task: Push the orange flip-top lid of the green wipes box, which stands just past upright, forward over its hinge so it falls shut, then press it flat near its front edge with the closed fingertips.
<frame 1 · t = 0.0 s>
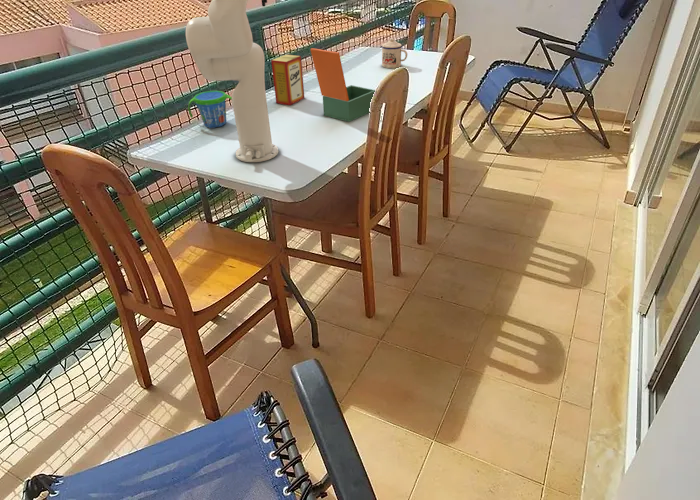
hand: (247, 6, 146), 37 cm above the table, tool pointing down, fingers open, 9 cm apart
baking soda box: (290, 101, 189), on the table
snack cup: (215, 125, 170), on the table
teacup with lid: (394, 66, 226), on the table
lid: (329, 75, 161), point 15 cm above the table, hinge at 104.0°
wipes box: (350, 112, 176), on the table
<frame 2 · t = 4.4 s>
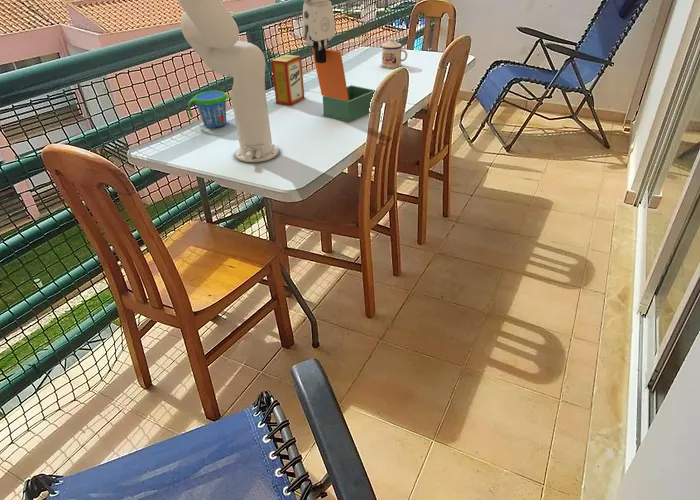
hand: (320, 62, 156), 20 cm above the table, tool pointing down, fingers closed
lid: (330, 74, 161), point 15 cm above the table, hinge at 101.1°
everything else where it was.
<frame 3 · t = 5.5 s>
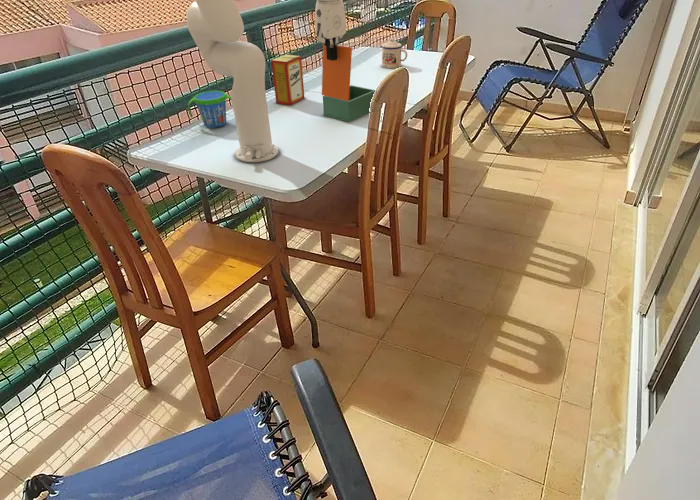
hand: (332, 59, 159), 20 cm above the table, tool pointing down, fingers closed
lid: (336, 72, 163), point 15 cm above the table, hinge at 81.6°, touching gripper
everything else where it was.
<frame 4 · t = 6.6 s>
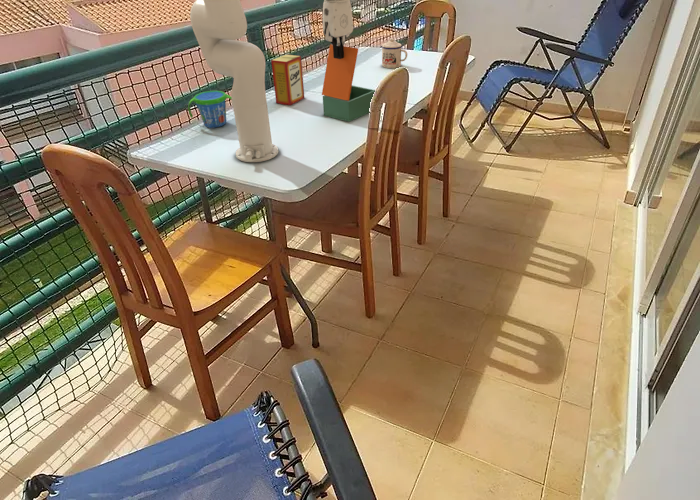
hand: (338, 57, 161), 20 cm above the table, tool pointing down, fingers closed
lid: (339, 72, 164), point 15 cm above the table, hinge at 69.8°
everything else where it was.
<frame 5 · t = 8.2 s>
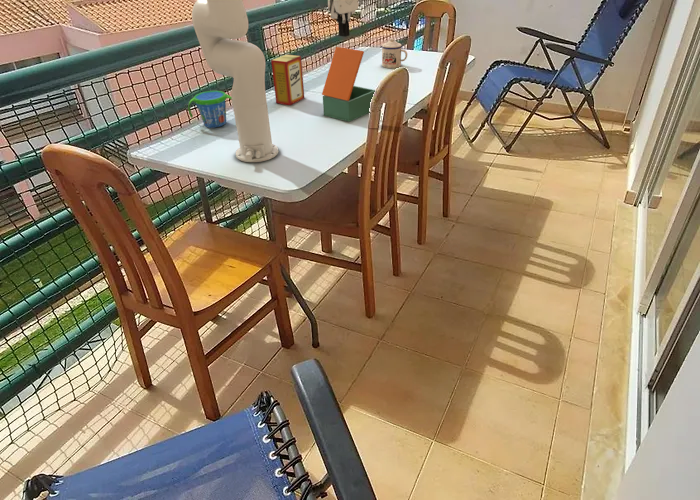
hand: (344, 35, 160), 26 cm above the table, tool pointing down, fingers closed
lid: (342, 73, 165), point 14 cm above the table, hinge at 58.3°
everything else where it was.
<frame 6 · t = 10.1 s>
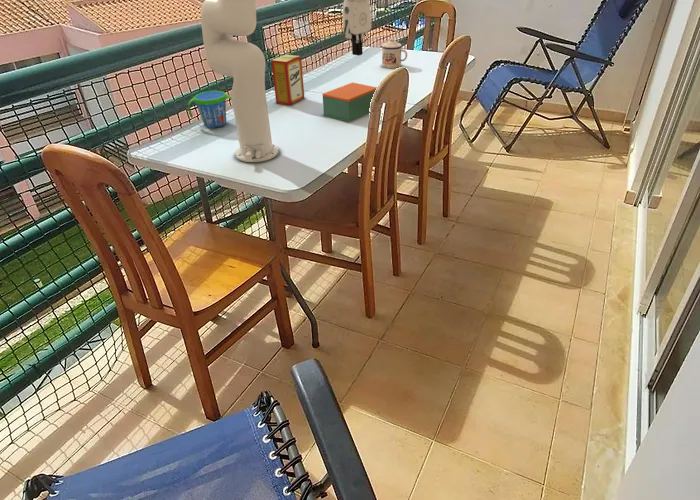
hand: (357, 54, 168), 19 cm above the table, tool pointing down, fingers closed
lid: (350, 91, 172), point 7 cm above the table, hinge at -0.2°
everything else where it was.
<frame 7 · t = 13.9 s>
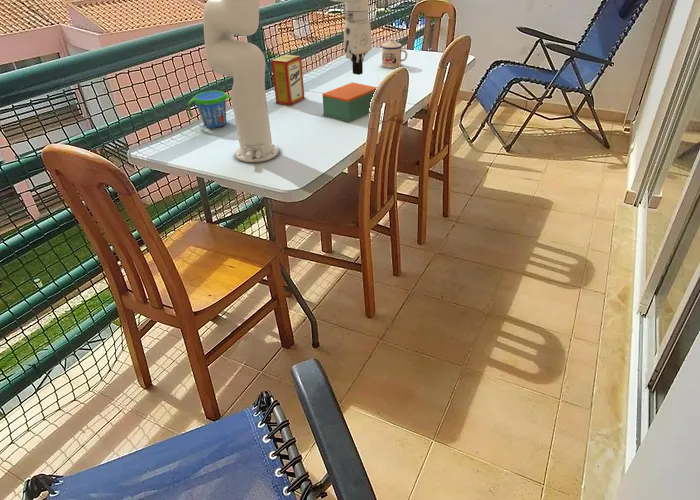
hand: (357, 73, 171), 12 cm above the table, tool pointing down, fingers closed
nothing on the table moved.
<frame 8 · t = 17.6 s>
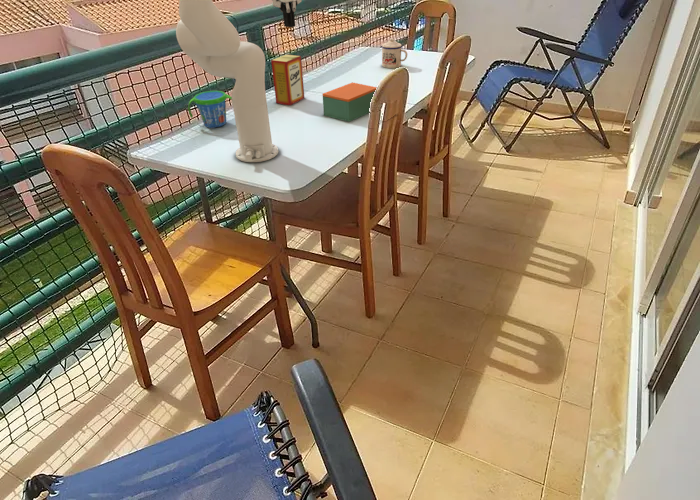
hand: (289, 26, 148), 31 cm above the table, tool pointing down, fingers closed
nothing on the table moved.
at the end: lid at +0° (first picture: +104°) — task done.
